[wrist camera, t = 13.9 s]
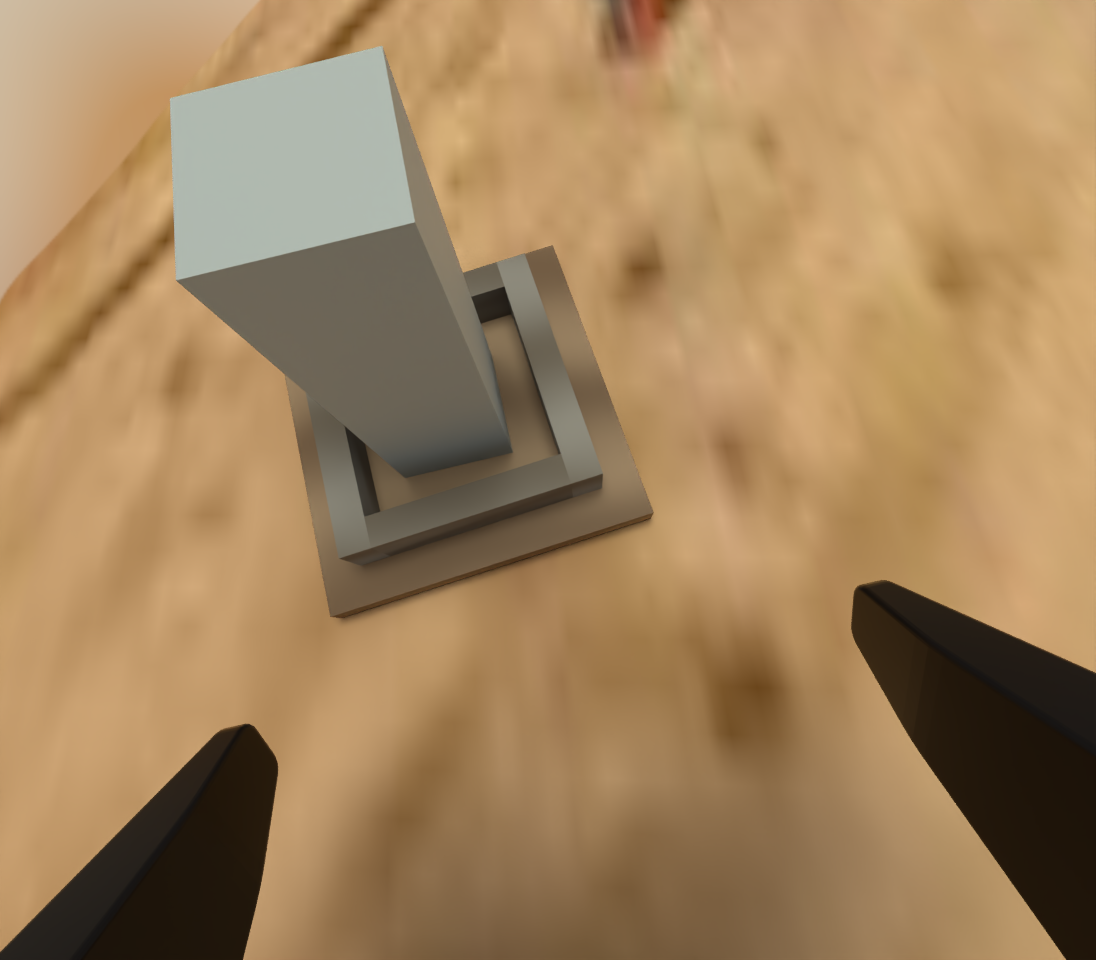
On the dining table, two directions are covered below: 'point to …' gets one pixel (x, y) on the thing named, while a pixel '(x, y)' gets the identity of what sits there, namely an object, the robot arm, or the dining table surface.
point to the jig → (486, 485)
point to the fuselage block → (336, 256)
